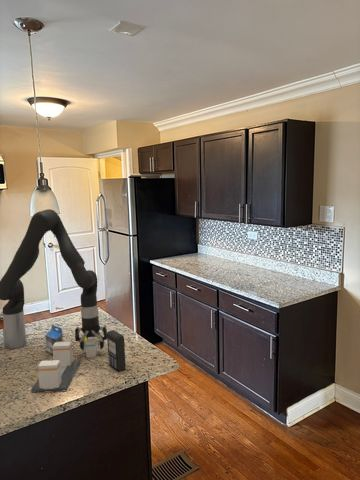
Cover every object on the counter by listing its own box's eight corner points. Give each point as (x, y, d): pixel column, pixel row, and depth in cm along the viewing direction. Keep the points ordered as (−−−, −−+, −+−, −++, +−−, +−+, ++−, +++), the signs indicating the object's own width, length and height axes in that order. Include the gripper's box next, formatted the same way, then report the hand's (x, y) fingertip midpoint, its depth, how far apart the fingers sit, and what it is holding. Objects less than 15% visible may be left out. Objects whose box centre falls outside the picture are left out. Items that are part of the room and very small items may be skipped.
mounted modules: (39, 388, 134) (37, 366, 133) (56, 361, 155) (55, 342, 154) (58, 387, 134) (56, 365, 133) (73, 360, 155) (71, 341, 154)
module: (86, 357, 161) (85, 342, 160) (89, 351, 167) (88, 337, 166) (95, 357, 161) (94, 342, 160) (98, 351, 167) (97, 336, 166)
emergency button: (98, 327, 185) (105, 338, 172) (99, 335, 186) (106, 346, 172) (80, 331, 181) (86, 342, 168) (81, 339, 182) (87, 351, 168)
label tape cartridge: (46, 351, 168) (43, 326, 166) (53, 348, 171) (51, 324, 169) (56, 357, 162) (54, 331, 160) (64, 353, 165) (62, 328, 163)
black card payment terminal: (107, 364, 154) (105, 331, 151) (115, 361, 156) (113, 328, 154) (118, 372, 147) (116, 338, 144) (126, 369, 149) (124, 335, 147)
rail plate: (31, 392, 134) (31, 389, 133) (50, 364, 155) (50, 361, 155) (66, 391, 134) (66, 388, 134) (80, 362, 156) (80, 360, 156)
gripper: (71, 318, 157) (74, 353, 159) (104, 317, 157) (106, 351, 160) (76, 312, 165) (78, 346, 167) (107, 311, 165) (109, 344, 167)
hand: (92, 348), depth 163 cm, fingers open, 8 cm apart
